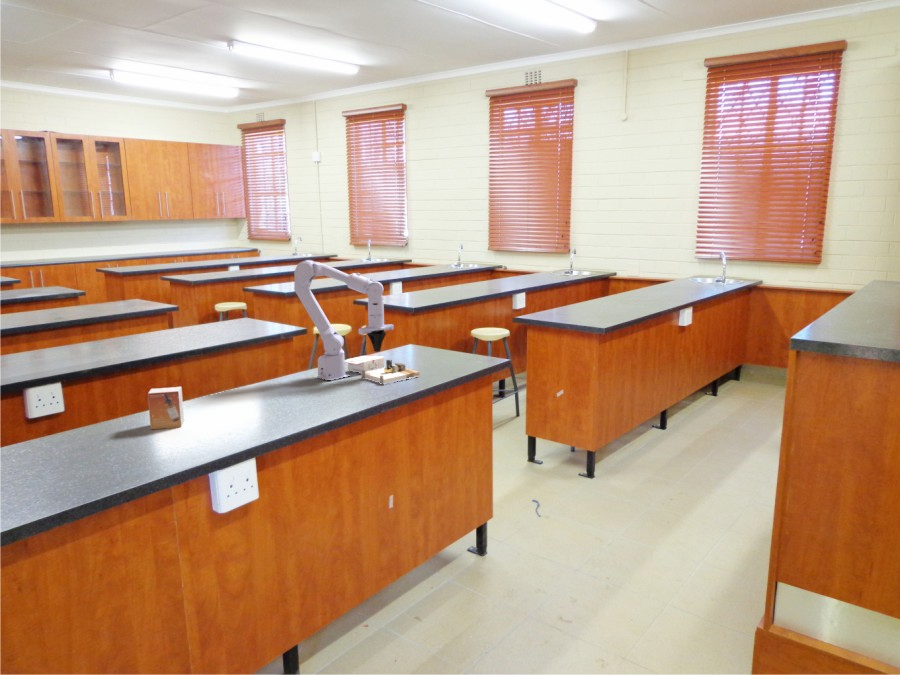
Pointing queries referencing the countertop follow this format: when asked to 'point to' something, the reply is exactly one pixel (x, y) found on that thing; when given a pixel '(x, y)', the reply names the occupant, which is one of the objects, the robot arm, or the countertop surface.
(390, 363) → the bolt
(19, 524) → the countertop surface
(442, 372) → the countertop surface
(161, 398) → the small box
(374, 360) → the ink cartridge box
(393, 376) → the door board
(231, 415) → the countertop surface
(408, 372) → the door jamb
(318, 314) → the robot arm
